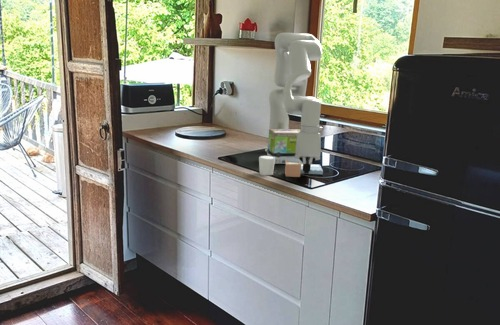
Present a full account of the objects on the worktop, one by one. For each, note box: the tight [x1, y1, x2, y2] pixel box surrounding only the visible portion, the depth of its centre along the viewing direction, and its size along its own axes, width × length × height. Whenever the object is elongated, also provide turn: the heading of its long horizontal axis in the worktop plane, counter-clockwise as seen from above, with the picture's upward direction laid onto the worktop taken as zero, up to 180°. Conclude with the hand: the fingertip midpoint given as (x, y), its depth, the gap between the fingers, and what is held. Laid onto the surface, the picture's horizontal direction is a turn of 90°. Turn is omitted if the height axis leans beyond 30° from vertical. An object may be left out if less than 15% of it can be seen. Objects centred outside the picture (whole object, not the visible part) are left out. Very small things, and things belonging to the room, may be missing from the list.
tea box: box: [266, 128, 303, 165], centre depth 212 cm, size 15×10×15 cm, turn 105°
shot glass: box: [258, 155, 276, 176], centre depth 192 cm, size 7×7×7 cm
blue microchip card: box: [300, 163, 324, 175], centre depth 200 cm, size 11×14×2 cm
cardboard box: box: [284, 161, 301, 178], centre depth 192 cm, size 5×6×5 cm
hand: (306, 172), depth 192 cm, fingers closed
